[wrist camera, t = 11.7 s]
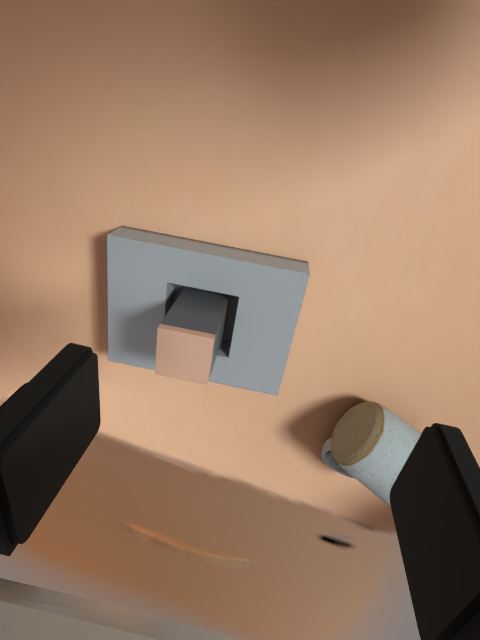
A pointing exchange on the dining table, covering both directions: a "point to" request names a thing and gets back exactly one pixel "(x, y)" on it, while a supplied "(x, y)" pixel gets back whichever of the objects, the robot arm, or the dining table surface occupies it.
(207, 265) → the outlet box
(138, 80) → the dining table surface
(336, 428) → the ceramic mug
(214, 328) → the charger
